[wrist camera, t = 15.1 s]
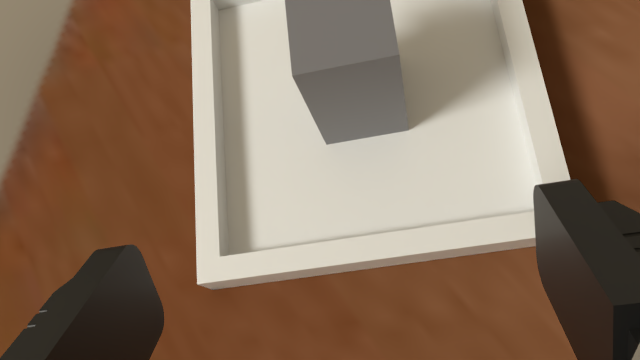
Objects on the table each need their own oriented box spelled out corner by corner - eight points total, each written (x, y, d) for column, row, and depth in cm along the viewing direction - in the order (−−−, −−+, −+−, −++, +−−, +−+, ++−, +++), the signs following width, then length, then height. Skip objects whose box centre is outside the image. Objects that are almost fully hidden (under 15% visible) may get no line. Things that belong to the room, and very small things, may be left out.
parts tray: (495, -61, 32) (499, -87, 30) (573, 240, 26) (584, 230, 24) (203, 3, 35) (190, -17, 33) (212, 289, 29) (197, 284, 27)
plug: (393, 39, 31) (379, -57, 24) (408, 130, 29) (399, 54, 22) (316, 54, 32) (281, -35, 25) (326, 144, 30) (292, 75, 23)
